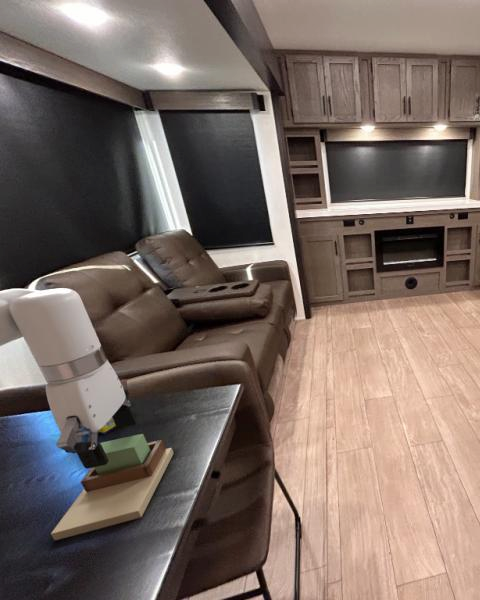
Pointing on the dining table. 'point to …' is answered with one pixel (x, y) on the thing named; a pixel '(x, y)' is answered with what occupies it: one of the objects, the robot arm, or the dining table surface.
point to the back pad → (124, 453)
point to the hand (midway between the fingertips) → (113, 444)
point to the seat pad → (115, 495)
